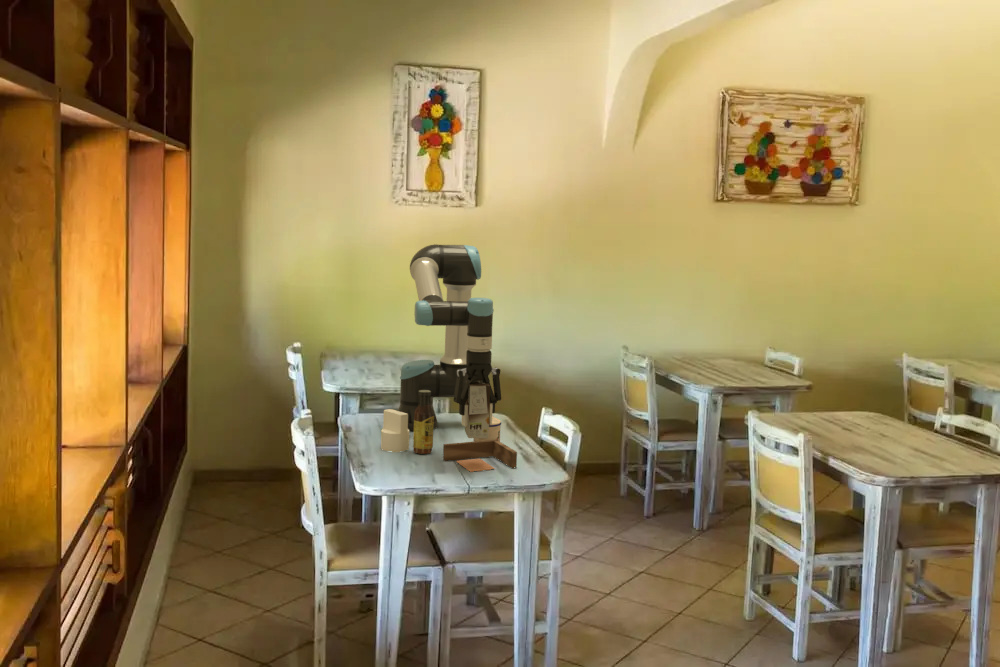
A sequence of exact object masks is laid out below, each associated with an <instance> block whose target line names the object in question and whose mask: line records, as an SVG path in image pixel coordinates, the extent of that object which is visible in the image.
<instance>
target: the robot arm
mask: <svg viewBox="0 0 1000 667" xmlns="http://www.w3.org/2000/svg"><path fill="white" fill-rule="evenodd" d="M409 272H410V276H411V278H412V279H413V280H414V282H415V288H416V293H417V297H418V300H417V301H415V304H414V322H415V324H416V325H418V326H427V327H430V326H433V327H434V326H440V327H441V326H445V333H444V334H445V335H444V336H445V337H444V354H443V356H441V357H440V360H439V364H435V362H434V360H431V359H419V360H412V361H408V362H406V363H404V364H403V365H401V368H400V376H399V379H400V390H399V391H400V393H399V394H400V395H399V406H398V409H397V411H400V412H403V413H407V414H408V429H409V432H414V418H415V410H416V408H417V407H418V405H419V404H418V403H419V395H418V392H419V391H420V390H429V391H431V397H430V403H431V404H430V405H431V408H432V411H433V415H434V425H433V430H435V429H436V428H437V427H438V418H437V414H436V410H435V408H434V398H453V399H452V400H453V402H454V403H457V404H458V406H459V408H458V409H459V411H458V413H459V415H460V416H461V426H463V427H464V428H465V427H467V421H468V405H467V404H466V401H467V399H468V388H469V385H468V384H474V383H475V381H479V380H480V381H482V382H485V383H488V384H489V385H490V409H489V425H492V416H493V414H495V413H496V404H497V402H498V401H499V402H501V400H502V390H501V382H500V375H501V372H502V371H501V369H500V368H497V367H493V366H492V353H493V352H492V351H491V349H492V347H493V344H492V343H493V317H494V302H493V300H492V299H491V298H487V297H472V289H473V288H474V287H475V286H476V285H477V281H479V280H480V279H481V278H482V262H481V256H480V252H479V249H478V248H477V247H476V246H474V245H469V244H437V243H436V244H435V243H434V244H429V245H425V246H424V247H423V248H421V249H420V250H418V251H417V252H415V254H414V255H413V256H412V258H411V260H410V264H409ZM439 279H441V280H442V285H444V287H446V300H444V297H443V294H442V289H441V285H440V281H439ZM490 374H491V375H492V383H493V384H491V381H490V378H489V376H490ZM466 381H467V382H466ZM492 385H493V388H492Z"/></svg>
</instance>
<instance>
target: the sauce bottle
mask: <svg viewBox="0 0 1000 667" xmlns="http://www.w3.org/2000/svg"><path fill="white" fill-rule="evenodd" d="M418 395H419V403H418V404H419V405H418V407H417V408H416V410H415V418H414V431H413V434H412V435H413V439H412V442H413V443H412V447H413V453H415V454H417V453H418V454H420V455H427V454H431V453H432V451H433V445H434V429H433V425H434V415H433V411H432V408H431V405H430V404H431V403H430V397H431V391H429V390H420V391H419V392H418Z"/></svg>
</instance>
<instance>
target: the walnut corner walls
mask: <svg viewBox="0 0 1000 667" xmlns="http://www.w3.org/2000/svg"><path fill="white" fill-rule="evenodd" d="M442 447H443V452H442V453H443V454H442V456H443V457H442V460H443V461H444V460H445V461H444V462H449V461H448V460H451V461H459V460H460V459H462V460H470V459H471V458H473V459H480V458H479V457H483V458H490V457H489V456H494V457H493V458H495V457H496V458H495V459H497V460H498V459H499V460H498V461H500V460H501V461H502V462H501V461H500V462H501V463H503V462H504V463H505V464H504V463H503V464H504V465H506V464H507V465H508V466H507V465H506V466H507V467H509V466H510V467H512V468H511V469H515V468H514V467H516V468H517V464H518V463H517V461H518V459H517V456H518V451H516V450H514V449H513V448H511V447H510V446H508V445H506V444H504V443H503V442H501V440H500V441H498V440H486V441H474V440H473V441H466V442H465V441H464V442H453V443H443V446H442ZM510 467H509V468H510Z"/></svg>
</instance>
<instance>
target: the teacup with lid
mask: <svg viewBox="0 0 1000 667" xmlns="http://www.w3.org/2000/svg"><path fill="white" fill-rule="evenodd" d="M501 426H502V422H501V420H500V419H499V418H496V417H495V416H493V415H492V425H489V436H488V438H473V442H474V441H486V440H498V441H500V442H501Z"/></svg>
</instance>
